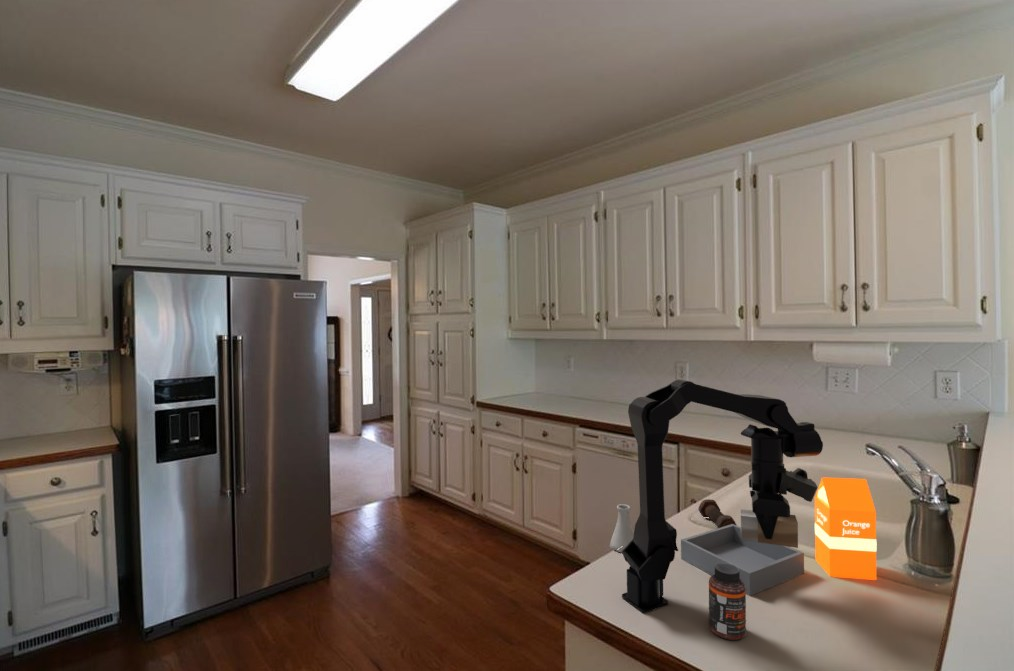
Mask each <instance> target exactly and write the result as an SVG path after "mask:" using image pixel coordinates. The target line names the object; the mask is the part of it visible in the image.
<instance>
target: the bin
mask: <svg viewBox="0 0 1014 671" xmlns="http://www.w3.org/2000/svg"><path fill="white" fill-rule="evenodd" d="M680 557H681V558H680V559H681V560H682V561H684V562H686V563H688V564H690V565H691V566H692V567H695V568H697V569H699V570H701V571H702V572H704V573H707V574H708V575H710V576H712V575H714V574H715V572H714V571H715V565H716V564H718V563H728V564H732V565H734V566H736V567H737V568H738V569H739V575H740V579H741V580H742V581H743V583H744V584H745V589H746V595H747V596H749V597H750V596H753V595H756V594H758V593H760V592H762V591H765V590H767V589H771V588H772V587H776V586H778V585H780V584H782V583H785V582H787V581H790V580H792V579H794V578H797V577H799V576H801V575H802V576H803V575H804V574H805V553H804V552H803V551H801V550H799V549H797V548H794V547H787V546H781V545H774V544H767V543H760V542H753V541H746V540H741V526H739V525H738V524H736V525H734V524H731V525H727V526H724V527H721V528H715V529H711V530H709V531H708V530H707V531H704V532H702V533H699V534H695V535H692V536H688V537H685V538H682V539H680Z"/></svg>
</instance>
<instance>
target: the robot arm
mask: <svg viewBox="0 0 1014 671" xmlns="http://www.w3.org/2000/svg"><path fill="white" fill-rule="evenodd" d="M691 402H692V403H696V404H700V405H703V406H708V407H712V408H716V409H719V410H724V411H728V412H731V413H734V414H736V415H739V416H740V417H742V418H745V419H747V420H748V421H751V422H754V423H756V424H759V425H763V426H767V427H758V426H757V425H753V424H751V423H750V424H748V426H747V427H746V428H744V429H743V430H742V431H740V435H741V436H743V437H747V438H749V439H751V440H750V443H751V444H750V446H751V447H750V450H751V451H750V453H751V454H750V455H751V459H750V465H751V473H750V474H749V475H748V488H751V490H749V494H750V497H751V510H753V512H754V513H755V515H756V517H757V520H758V522H759V524H760V526H761V529H762V531H763V533H764V536H765V538H766V539H772V537H773V533H774V530H775V526H776V522H777V519H778V517H779V516H780V517H790V515H791V506H790V503H789V500H787V498H786V497H785V496H784V495H788V494H787V493H790V494H792V495H794V496H797V497H800V498H802V499H803V500H804V501H806V502H810V503H812V501H813V499H814V498H815V496H816V493H817V490H818V488H819V486H818V485H817V483H816V482H815V481H814V480H813V479H812V478H808V472H807V471H806V470H804V469H803V468H800V467H797V468H796V469H795V470H793V471H792V470H787V468H786V467H785V463H784V456H785V457H787V458H800V457H802V458H803V457H816V456H818V455H821V453H822V452H823V449H824V448H823V447H824V443H823V441H822V437H821V436H820V434H819V433H818V432H817V430H816V429H815V424H814V423H812V422H808V421H804V422H799V423H797V422H796V420H795V419H794V417H793V416H792V415H791V414H790V412H789V408H788V406H787V403H786V402H785V401H784V400H782V399H778V398H775V397H770V396H765V395H761V394H745V393H743V394H737V393H732V392H729V391H725V390H720V389H716V388H713V387H708V386H704V385H701V384H696V383H695V382H693V381H689V380H685V379H675V380H674V381H672V382H670V383H668V384H667V385H666V386H664V387H661V388H659V389H656V390H654V391H652V392H651V391H650V392H649V393H648V394H647V395H645V396H638V397H636V398H634V399H633V400H632V401H631V403H629V405H628V409H627V414H628V417H629V422H630V427H631V430H632V433H633V435H634V438H635V440H636V444H637V464H638V489H639V491H638V492H639V516H638V518H637V520H636V522H635V525H634V528H633V530H634V537H633V539H632V541H631V542H630V543H629V544H628V545H627V546H626V547H625V548H624V550H623V551H622V552H621V553H622V556H623V559H624V560H625V562H627V564H628V565H629V568H627V569H626V592H624V593H621V598H622V599H623V600H625V601H627V602H628V603H630V605H632V606H633V607H634V608H635V609H637V610H638V611H640V612H642V613H645V614H646V613H648V612H650V611H653V610H656V609H659V608H661V607H664V606H667V605H669V600H667V599H666V598H665V597H664V580H666V576H667V574H668V570H669V568H670V565H671V563H672V562H674V560H675V556H676V552H679V548H678V545H677V538H678V533H677V532H678V531H677V529H676V528H675V527H674V526H673V525H672V524H671V523H669V522H668V521H667V520H666V516H665V487H664V483H665V482H664V464H663V463H664V460H663V456H664V455H663V445H664V443H665V440H666V438H667V436H668V433H669V428H670V421H671V420H672V419H674V418H675V417H677V416H678V415H680V414H681V413H682V411H683V410H684V409H685V408H686V406H687V405H688V404H690V403H691ZM772 428H773V429H777V430H773V429H772Z"/></svg>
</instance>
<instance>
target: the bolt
mask: <svg viewBox="0 0 1014 671" xmlns="http://www.w3.org/2000/svg"><path fill="white" fill-rule="evenodd" d="M697 511H699V513H700V515H701V516H703V517H709V518H710V519H709V520H712V521H713V522H714V523H715V525H716V527H717V528H716V529H718V528H721V527H724V526H727V525H731V524H734V525H737V523H736V521H735V520H734V518H733V516H731V515H729V514H724V513H723V512H721V508H720V507H719V505H718V503H717V501H715V500H714V499H711V498H710V499H703V500H702V501H701V502H700V504H699V506H698V510H697ZM703 517H702V518H703Z"/></svg>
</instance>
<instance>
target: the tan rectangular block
mask: <svg viewBox="0 0 1014 671" xmlns="http://www.w3.org/2000/svg"><path fill="white" fill-rule="evenodd" d="M740 527H741V540H746V541H753V542H760V543H767V544H774V545H781V546H787V547H791V548H793V549H798V548H799V524H798V519H797V516H796V515H795V514H790V517H780V516H779V517H778V519H777V522H776V526H775V530H774V533H773V537H772V539H766V538H765V536H764V533H763V531H762V529H761V526H760V524H759V522H758V520H757V517H756V515H755V513H754V512H753V510H752V509H747V508H740Z"/></svg>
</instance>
